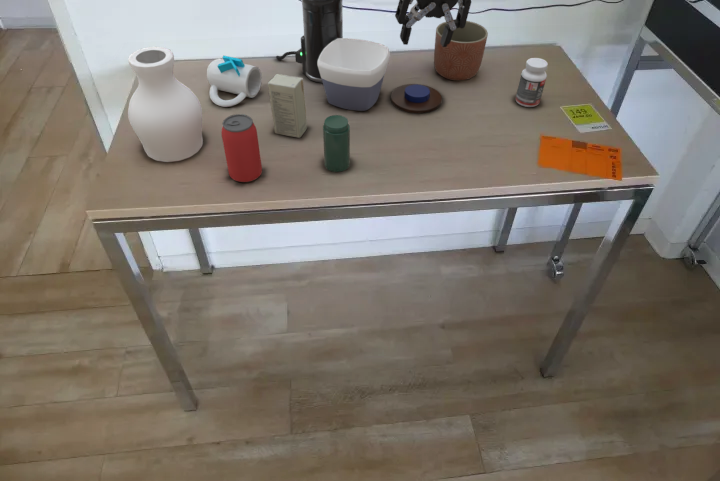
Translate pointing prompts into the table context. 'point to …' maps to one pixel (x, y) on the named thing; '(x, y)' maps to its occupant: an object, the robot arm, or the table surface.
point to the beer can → (241, 148)
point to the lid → (417, 93)
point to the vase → (163, 108)
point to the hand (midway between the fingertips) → (424, 44)
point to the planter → (460, 51)
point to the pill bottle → (532, 82)
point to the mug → (233, 80)
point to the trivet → (407, 106)
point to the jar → (336, 143)
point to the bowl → (353, 72)
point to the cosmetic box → (288, 105)
